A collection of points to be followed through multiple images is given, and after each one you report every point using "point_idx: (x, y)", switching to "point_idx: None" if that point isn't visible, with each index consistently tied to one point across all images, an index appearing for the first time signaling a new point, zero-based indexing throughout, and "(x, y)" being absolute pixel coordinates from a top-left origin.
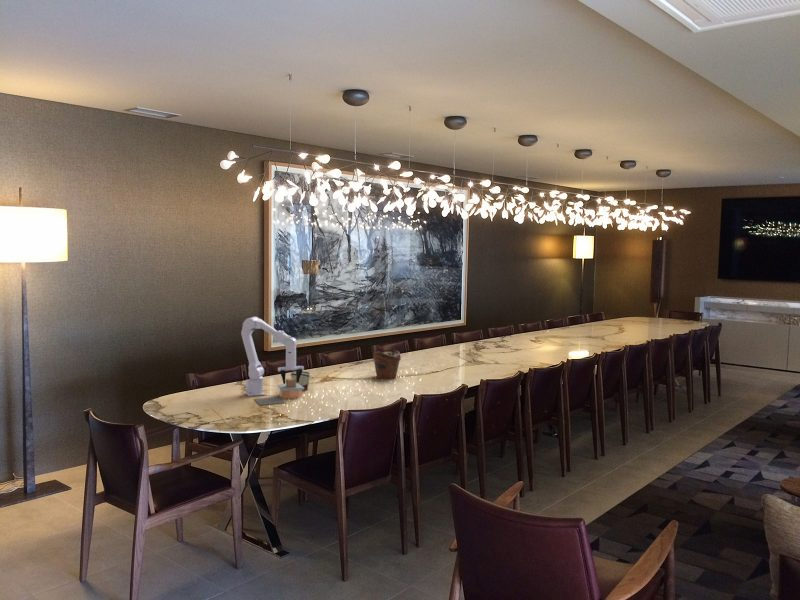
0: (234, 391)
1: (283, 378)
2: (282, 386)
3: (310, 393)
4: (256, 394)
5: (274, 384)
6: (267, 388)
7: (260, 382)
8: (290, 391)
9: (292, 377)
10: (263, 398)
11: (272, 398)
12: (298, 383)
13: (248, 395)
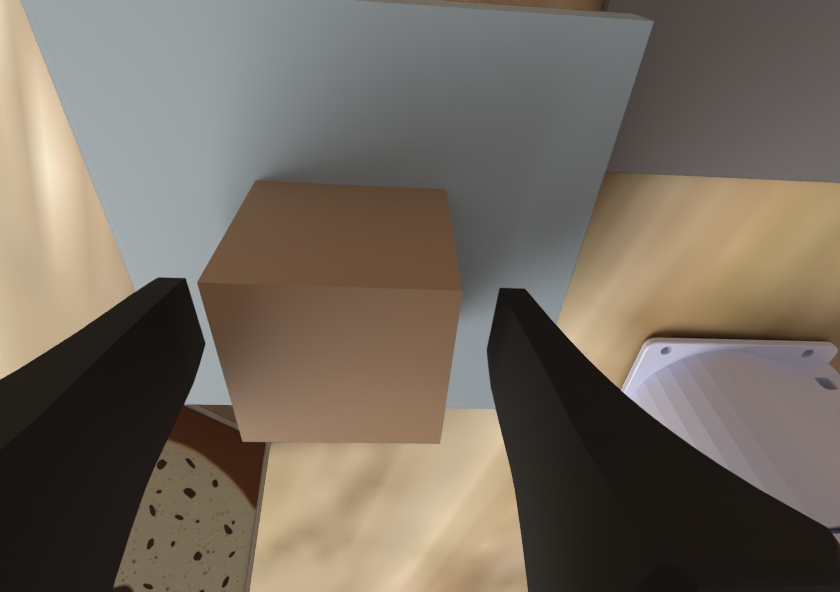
0: None
1: (606, 379)
2: None
3: (37, 211)
4: (743, 352)
5: (387, 561)
6: (486, 502)
7: (784, 487)
8: None
9: (238, 576)
10: (827, 151)
11: (724, 92)
12: (183, 476)
13: (836, 348)
